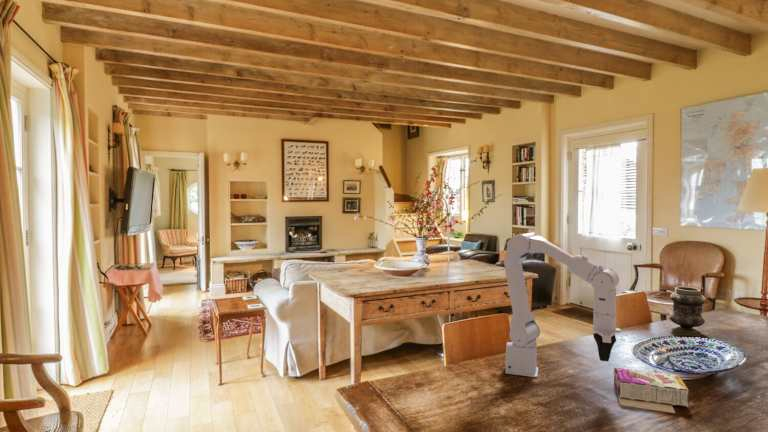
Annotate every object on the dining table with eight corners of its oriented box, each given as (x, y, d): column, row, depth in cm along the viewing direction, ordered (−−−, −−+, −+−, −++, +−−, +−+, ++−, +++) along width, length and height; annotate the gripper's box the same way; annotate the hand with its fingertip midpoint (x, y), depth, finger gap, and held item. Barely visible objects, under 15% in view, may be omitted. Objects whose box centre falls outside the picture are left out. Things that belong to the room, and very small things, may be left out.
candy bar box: (613, 366, 131) (678, 373, 126) (613, 382, 132) (677, 391, 126) (619, 380, 121) (690, 389, 115) (618, 398, 121) (689, 408, 115)
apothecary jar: (712, 336, 174) (713, 291, 173) (681, 337, 174) (682, 291, 173) (691, 327, 186) (692, 285, 185) (662, 327, 186) (663, 285, 185)
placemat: (620, 405, 118) (620, 404, 118) (614, 385, 130) (614, 384, 130) (675, 413, 114) (675, 412, 114) (664, 392, 126) (664, 391, 126)
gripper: (624, 320, 116) (623, 371, 117) (617, 307, 130) (616, 353, 130) (594, 318, 119) (593, 368, 120) (591, 305, 132) (590, 350, 133)
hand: (604, 360), depth 125 cm, fingers closed
